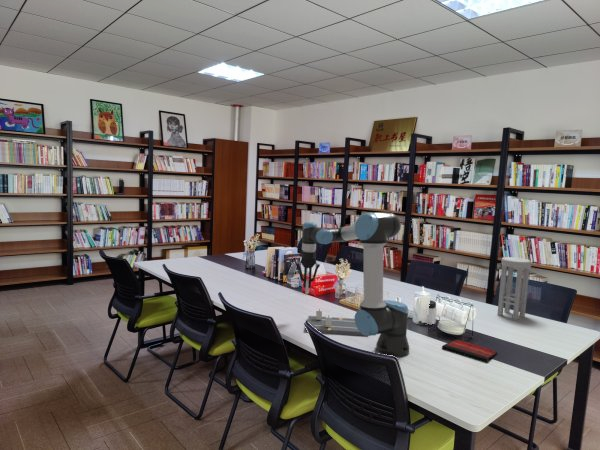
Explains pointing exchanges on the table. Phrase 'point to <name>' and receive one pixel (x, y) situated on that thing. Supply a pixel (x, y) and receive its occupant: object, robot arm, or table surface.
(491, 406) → the table surface
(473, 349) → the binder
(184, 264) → the table surface
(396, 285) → the table surface
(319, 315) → the fader
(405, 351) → the robot arm
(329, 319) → the fader
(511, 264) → the stool
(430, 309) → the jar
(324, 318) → the console
